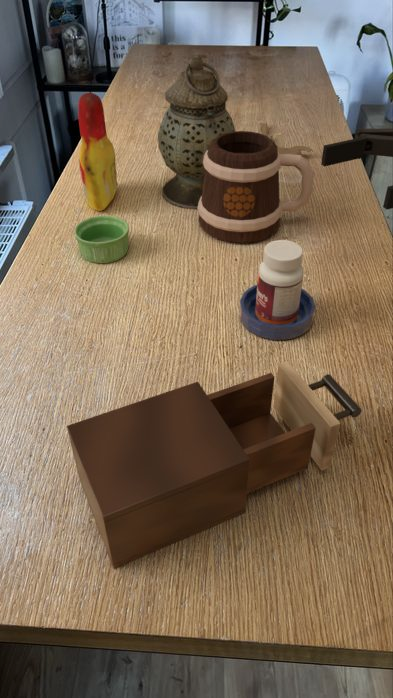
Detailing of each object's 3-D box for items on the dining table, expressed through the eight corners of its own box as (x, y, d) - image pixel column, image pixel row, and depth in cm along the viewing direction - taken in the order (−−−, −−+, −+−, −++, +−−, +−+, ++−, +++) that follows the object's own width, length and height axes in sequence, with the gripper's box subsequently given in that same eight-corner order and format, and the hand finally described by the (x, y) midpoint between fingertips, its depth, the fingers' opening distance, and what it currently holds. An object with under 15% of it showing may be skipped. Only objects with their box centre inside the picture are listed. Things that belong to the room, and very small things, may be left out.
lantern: (235, 178, 120) (240, 44, 103) (231, 212, 109) (236, 69, 92) (166, 175, 121) (160, 42, 104) (156, 209, 110) (148, 67, 93)
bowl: (327, 328, 84) (329, 314, 82) (262, 349, 81) (263, 335, 79) (288, 288, 91) (289, 275, 89) (227, 307, 88) (227, 293, 86)
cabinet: (198, 435, 70) (197, 381, 64) (245, 512, 62) (249, 459, 56) (79, 479, 65) (66, 425, 59) (113, 568, 57) (102, 517, 51)
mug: (196, 245, 101) (195, 162, 91) (198, 203, 112) (198, 124, 102) (313, 246, 100) (325, 162, 90) (303, 204, 111) (313, 124, 101)
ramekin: (142, 250, 100) (140, 227, 97) (101, 272, 95) (98, 249, 92) (107, 231, 104) (104, 209, 101) (67, 252, 99) (62, 229, 97)
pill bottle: (249, 306, 87) (253, 240, 80) (288, 300, 89) (296, 234, 81) (263, 332, 83) (269, 265, 75) (304, 325, 84) (314, 258, 77)
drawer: (315, 391, 74) (323, 348, 69) (366, 451, 66) (379, 407, 62) (180, 441, 68) (179, 397, 63) (221, 512, 61) (223, 469, 56)
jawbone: (277, 169, 123) (277, 160, 122) (230, 136, 137) (230, 128, 136) (313, 157, 126) (314, 148, 124) (263, 126, 140) (263, 117, 138)
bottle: (111, 216, 108) (99, 106, 95) (78, 215, 109) (60, 105, 95) (123, 187, 117) (112, 82, 104) (91, 186, 118) (77, 81, 104)
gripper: (424, 90, 88) (304, 114, 82) (565, 153, 71) (427, 189, 65) (413, 140, 93) (298, 165, 87) (541, 209, 76) (411, 247, 70)
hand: (353, 176), depth 76 cm, fingers open, 13 cm apart
